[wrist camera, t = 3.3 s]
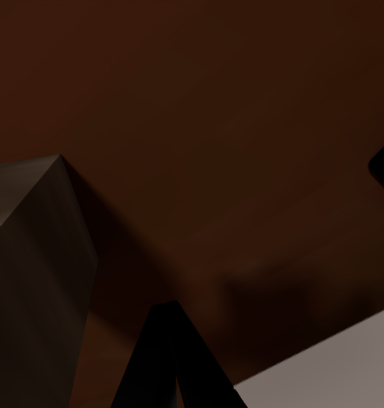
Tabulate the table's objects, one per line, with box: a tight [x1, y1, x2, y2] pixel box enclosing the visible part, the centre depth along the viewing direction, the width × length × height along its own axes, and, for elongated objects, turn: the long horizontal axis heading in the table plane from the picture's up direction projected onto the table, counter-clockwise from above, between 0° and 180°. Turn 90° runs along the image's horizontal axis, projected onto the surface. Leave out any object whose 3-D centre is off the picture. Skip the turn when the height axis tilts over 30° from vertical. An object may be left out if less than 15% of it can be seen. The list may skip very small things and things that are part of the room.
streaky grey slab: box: [0, 154, 99, 408], centre depth 11 cm, size 4×7×11 cm, turn 7°
